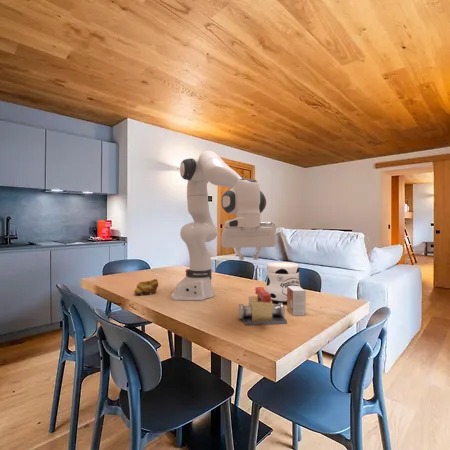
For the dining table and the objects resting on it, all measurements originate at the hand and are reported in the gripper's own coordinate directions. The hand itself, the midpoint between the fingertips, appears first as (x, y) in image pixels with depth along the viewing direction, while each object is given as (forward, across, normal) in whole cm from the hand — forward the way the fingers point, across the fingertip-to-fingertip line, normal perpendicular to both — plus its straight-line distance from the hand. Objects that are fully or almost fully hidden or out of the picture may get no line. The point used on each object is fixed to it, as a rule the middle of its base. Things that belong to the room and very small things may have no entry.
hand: (248, 259), depth 103 cm
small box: (+25, -23, -14) cm, 37 cm away
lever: (+15, -6, -3) cm, 17 cm away
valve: (+25, -6, -8) cm, 27 cm away
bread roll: (+26, +48, -55) cm, 77 cm away
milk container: (+25, -23, -33) cm, 48 cm away
